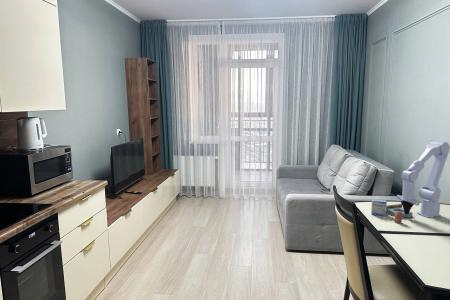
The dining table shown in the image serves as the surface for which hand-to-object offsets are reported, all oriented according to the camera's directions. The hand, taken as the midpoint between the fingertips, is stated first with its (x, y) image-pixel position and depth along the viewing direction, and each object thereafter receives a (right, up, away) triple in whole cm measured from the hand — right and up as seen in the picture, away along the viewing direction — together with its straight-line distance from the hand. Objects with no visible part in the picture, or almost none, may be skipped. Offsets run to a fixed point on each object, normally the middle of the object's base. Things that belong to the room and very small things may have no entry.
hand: (406, 213), depth 185 cm
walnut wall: (-3, -1, +11) cm, 12 cm away
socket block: (-2, -2, +6) cm, 6 cm away
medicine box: (-13, -2, +7) cm, 15 cm away
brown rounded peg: (-9, -3, -7) cm, 11 cm away
